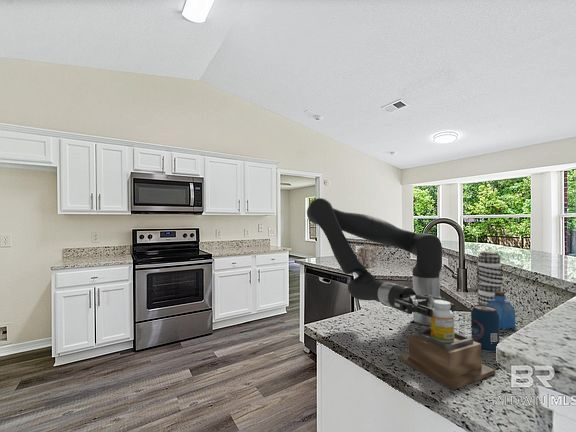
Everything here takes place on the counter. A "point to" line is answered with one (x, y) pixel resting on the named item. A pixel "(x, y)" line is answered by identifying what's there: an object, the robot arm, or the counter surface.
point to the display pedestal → (446, 359)
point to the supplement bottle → (442, 322)
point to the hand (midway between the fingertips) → (443, 310)
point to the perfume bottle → (503, 310)
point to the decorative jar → (367, 256)
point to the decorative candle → (488, 276)
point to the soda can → (485, 327)
